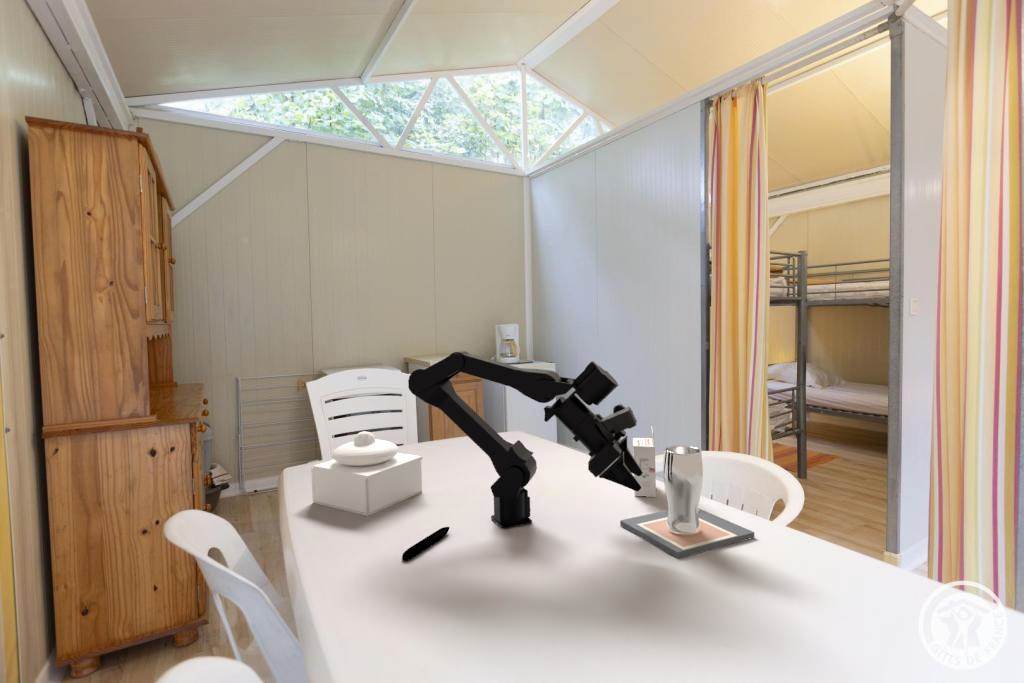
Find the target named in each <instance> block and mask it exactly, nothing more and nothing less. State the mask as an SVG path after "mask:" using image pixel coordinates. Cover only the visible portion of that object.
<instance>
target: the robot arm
mask: <svg viewBox="0 0 1024 683" xmlns="http://www.w3.org/2000/svg"><path fill="white" fill-rule="evenodd" d="M461 373H463V374H467V375H470V376H474V377H477V378H481V379H484V380H487V381H489V382H494V383H497V384H500V385H503V386H507V387H510V388H513V389H514V390H516V391H517V392H519V393H521V394H522V395H523V396H526V397H527V398H529V399H531V400H533V401H535V402H538V403H540V404H547V403H549V402H551V401H553V400H555V399H556V398H557V397H558V396H560V395H561V396H560V397H559V398H558V399H556V400H555V402H554V403H553V404H552V405H551V406H550V405H545V407H544V408H543V411H544V422H546V423H547V422H548V421H550V420H551V419H552V418H553V417H555V418H556V420H558V421H559V422H560V423H561V424H562V425H563V426H564V427H565V428H566V429H567V430H568V431H569V432H570V433H571V435H573V437H572V439H573V440H574V442H576V443H577V442H579V443H581V445H582V446H583V447H584V448H586V449H587V451H588V456H590V458H589V460H588V462H587V463H588V464H587V465H588V467H587V469H588V471H589V472H590V473H591V474H592V475H593V476H594V477H595V478H597V477H598V478H600V479H605V480H607V481H609V482H613V483H616V484H617V485H620V486H622V487H625V488H628V489H631V490H632V491H634V490H635V491H639V490H640V489H641V486H640V484H639V483H638V481H637V480H636V478H635V477H634V474H635V475H637V476H640V475H642V473H643V472H642V470H641V469H640V467H639V466H638V464H637V462H636V461H635V459H634V458H633V453H632V452H631V451H630V449H629V448H628V435H627V432H626V431H625V430H628V429H632V428H635V427H637V422H638V420H637V419H636V418H637V417H635V416H636V415H634V413H633V410H632V408H631V407H630V406H627V407H625V406H624V405H623V404H622V403H619V404H617V405H615V406H613V409H612V410H613V412H612V413H610V414H609V415H606V416H604V417H603V416H602V415H601V414H600V413H594V412H593V411H592V410H591V409H590V408H589V407H588V406H592V405H595V406H599V405H600V404H601V403H603V401H604V400H605V399H606V398H607V397H608V396H609V395H611V394H612V392H613V391H614V390H616V388H618V387H619V383H618V381H617V380H616V379H615V378H614V377H613V376H612V375H611V374H610V373H609V372H608V371H607V370H605V369H604V368H602V367H601V366H600V365H599V364H597V363H596V362H595V361H593V360H591V361H590V362H589V363H588V364H587V365H586V367H585V368H584V370H583V371H582V372H581V373H580V374H579V375H578V376H577V377H575V378H571V377H566V376H565V377H563V376H560V374H558V373H557V372H556V371H554V370H550V369H543V368H542V369H540V368H539V369H538V368H524V367H517V366H514V365H511V364H507V363H503V362H500V361H496V360H493V359H490V358H486V357H482V356H480V355H475V354H473V353H469V352H468V351H466V350H459V351H453V352H452V353H451V354H449V355H448V356H447V357H445V358H443V359H441V360H439V361H438V362H435V363H434V364H432V365H429V366H425V367H421V368H417V369H414V371H412V372H411V373H410V375H409V377H408V380H407V382H408V386H407V387H408V390H409V392H410V393H411V394H412V395H414V396H415V397H417V398H418V399H419V400H421V402H424V403H426V404H428V405H430V406H432V407H435V408H437V409H439V410H441V412H443V413H444V415H445V416H446V417H447V418H448V419H450V420H451V421H452V422H453V423H454V424H455V425H456V427H458V428H459V429H460V430H461V431H462V432H463V433H464V434H465V435H466V436H467V437H468V438H469V439H470V440H471V441H472V442H473V443H474V444H475V445H476V446H478V448H479V449H480V450H481V451H482V452H484V453H485V454H486V456H488V458H489V459H490V461H491V464H492V465H493V468H494V470H495V472H496V473H497V475H498V476H499V477H498V478H497V479H496V480H495V481H494V482H493V484H491V486H490V490H491V494H492V496H493V514H492V515H490V519H491V520H492V521H494V522H495V524H497V525H498V526H499V527H500V528H501V529H510V528H514V527H515V528H516V527H519V526H523V525H528V524H532V523H533V520H532V519H531V518H530V517H531V497H530V496H529V492H528V491H529V490H527V489H526V488H525V487H526V486H527V485H528V484H529V483H530V481H531V480H532V479H533V477H534V476H535V474H536V473H537V470H538V469H537V468H538V467H537V465H538V464H537V460H536V459H535V457H534V456H533V454H534V452H533V451H531V450H529V449H528V448H526V446H525V445H524V444H523V442H522V441H521V440H520V439H518V440H517V441H515V442H514V443H511V442H509V441H507V440H506V439H504V438H503V437H502V436H501V435H500V434H499V433H498V432H497V431H496V430H495V429H493V427H492V426H490V424H488V423H487V422H486V421H485V419H483V417H482V416H480V415H479V414H478V413H477V412H476V411H475V410H473V408H472V407H471V406H469V404H467V403H466V401H464V400H463V399H462V398H461V397H460V396H459V394H457V393H456V391H455V388H454V386H453V383H452V381H450V380H451V379H452V378H455V377H456V376H457V375H459V374H461ZM572 389H574V391H573V392H572V393H571V394H570V395H569V396H568V397H567V398H566V397H563V396H562V395H566V394H567V393H569V391H570V390H572ZM587 405H588V406H587ZM621 438H623V439H621Z"/></svg>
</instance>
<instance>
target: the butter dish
mask: <svg viewBox="0 0 1024 683" xmlns="http://www.w3.org/2000/svg"><path fill="white" fill-rule="evenodd" d="M331 456H332V459H331V460H328V461H324V462H320V463H317V464H315V465H314V464H313V465H312V468H311V469H310V471H311V492H312V493H311V495H312V503H313V504H317V505H321V506H325V507H330V508H334V509H338V510H341V511H346V512H350V513H353V514H359V515H363V516H367V517H368V516H371V515H373V514H376V513H378V512H380V511H382V510H384V509H386V508H389V507H391V506H393V505H396V504H398V503H400V502H402V501H404V500H407V499H409V498H411V497H413V496H417V495H418V494H420V493H422V492H423V481H422V480H423V479H422V478H423V477H422V476H423V475H422V474H423V473H422V472H423V471H422V460H423V456H422V455H421V456H420V455H415V454H408V453H401V452H399V447H398V445H396V443H393V442H392V441H389V440H384V439H376V438H375V435H374V434H373V433H372V432H370V431H365V430H363V431H360V432H358V433H357V434H356V436H355V437H354V439H353V441H349V442H346V443H344V444H341V445H340V446H338V447H336V448H335V449H334V450H333V451H332V453H331Z"/></svg>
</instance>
